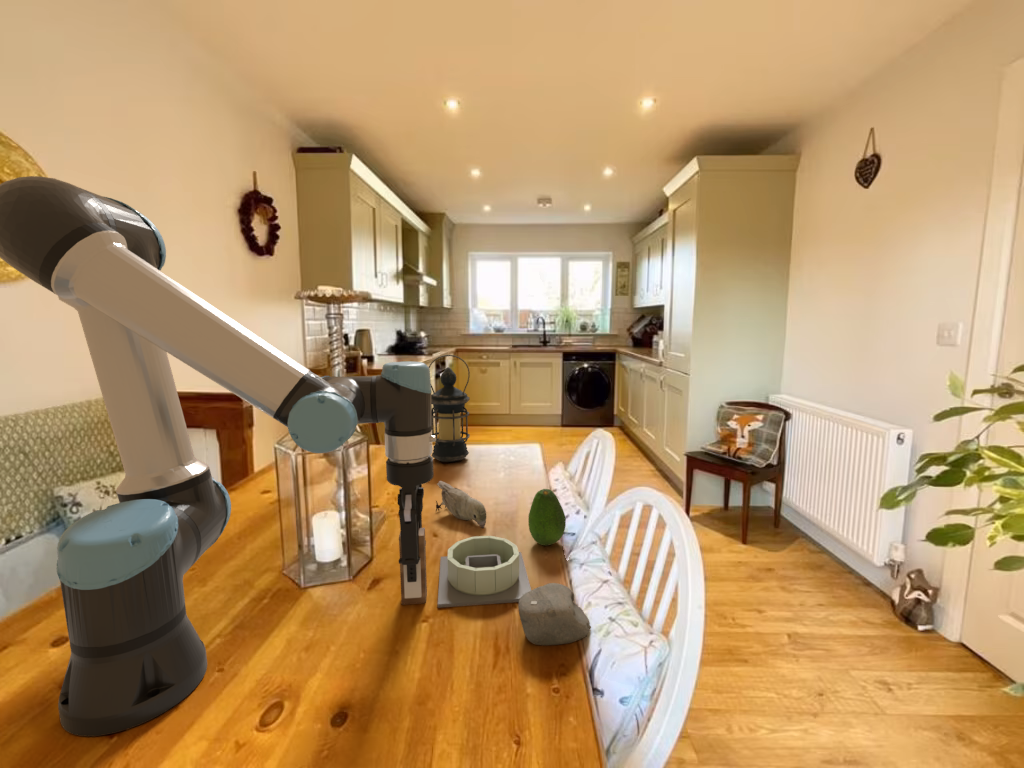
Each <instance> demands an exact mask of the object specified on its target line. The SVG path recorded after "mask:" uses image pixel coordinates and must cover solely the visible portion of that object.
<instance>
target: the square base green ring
mask: <svg viewBox="0 0 1024 768" xmlns="http://www.w3.org/2000/svg"><path fill="white" fill-rule="evenodd" d="M438 579H439V581H438V590H437V591H438V592H437V593H438V594H437V608H450V607H452V608H453V607H454V608H455V607H465V606H466V607H467V606H478V605H481V606H483V605H493V604H497V605H498V604H508V603H509V604H510V603H519V600H520V598H521V596H522V595H523V594H525V593H527V592H529V591H531V590H532V587H531V584H530V580H529V576H528V572H527V568H526V565H525V561H524V558H523V553H522V552H521V551H519V548H518V545H517V544H515V543H514V542H512V541H511V540H509V539H508V538H503V537H500V536H499V537H498V536H494V535H480V536H479V535H476V536H471V537H467V538H464V539H461V540H458V541H456V542H455V543H453V544H452V545H451V546H450V547H449V548H447V556H440V563H439V578H438Z"/></svg>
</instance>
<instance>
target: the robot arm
mask: <svg viewBox="0 0 1024 768" xmlns="http://www.w3.org/2000/svg"><path fill="white" fill-rule="evenodd" d="M0 258H1V260H3V261H4V262H5V263H6V264H7V265H9V266H11V267H12V268H13V269H14V270H16V271H18V272H19V273H21V274H22V275H23V276H25V277H27V278H28V279H30V280H31V281H33V282H34V283H36V284H37V285H40V286H42V287H43V288H45V289H47V290H48V291H49V292H51V293H53V294H54V295H56V296H57V298H58V300H59V301H60V302H62V303H65V304H66V305H68V306H70V307H72V308H73V309H74V310H76V312H77V313H78V317H79V320H80V323H81V328H82V331H83V333H84V338H85V340H86V344H87V347H88V351H89V353H90V354H89V355H90V357H91V361H92V364H93V368H94V372H95V376H96V378H97V383H98V386H99V389H100V392H101V396H102V399H103V402H104V403H103V404H104V405H105V409H106V413H107V415H108V419H109V423H110V427H111V430H112V433H113V436H114V440H115V443H116V446H117V450H118V455H119V457H120V460H121V464H122V467H123V470H124V478H123V479H122V481H121V482H120V483H119V485H117V487H116V489H115V492H116V495H117V500H118V502H119V503H115V504H111V505H108V506H106V508H104V509H100V510H94V511H92V512H90V513H88V514H86V515H84V516H82V517H80V518H79V519H77V520H76V521H74V522H73V523H72V524H71V525H70V526H68V527H67V528H66V529H65V530H64V531H63V533H62V534H61V536H60V538H59V540H58V543H57V547H56V549H57V551H56V552H57V560H56V573H57V576H58V578H59V582H60V583H59V584H60V589H61V596H62V601H63V602H62V603H63V609H64V614H65V621H66V627H67V635H68V640H69V641H68V642H69V646H70V647H69V648H70V657H69V660H68V665H67V668H66V672H65V674H64V678H63V682H62V686H61V690H60V694H59V697H58V701H57V702H58V703H57V705H58V706H57V708H58V714H59V720H60V724H61V727H62V728H63V730H65V731H66V732H68V733H69V734H72V735H75V736H80V737H97V736H98V737H99V736H106V735H110V734H111V735H112V734H115V733H118V732H119V733H120V732H122V731H125V730H129V729H131V728H134V727H137V726H140V725H142V724H145V723H146V722H149V721H151V720H152V719H154V718H157V717H159V716H160V715H162V714H165V712H167V711H168V710H170V709H172V708H174V707H175V706H176V705H178V704H179V703H180V702H182V701H183V700H184V699H185V698H187V697H188V696H189V695H190V694H191V693H192V692H193V691H194V690H195V689H196V688H197V686H199V684H200V683H201V681H202V680H203V678H204V676H205V675H206V672H207V668H208V659H207V658H208V657H207V649H206V645H205V644H204V642H203V641H202V639H201V638H200V636H199V634H198V632H197V630H196V629H195V627H194V625H193V624H192V621H190V619H189V617H188V615H187V609H186V599H185V589H184V581H183V580H184V575H185V574H186V573H187V572H188V571H189V569H191V568H192V567H193V566H194V564H195V563H196V562H197V561H198V560H199V559H200V558H201V556H203V554H204V553H205V552H206V551H207V550H208V549H210V548H211V547H212V546H214V544H215V543H216V542H217V541H218V539H219V538H220V537H221V535H222V534H223V532H224V531H225V528H226V526H227V525H228V523H229V520H230V517H231V513H232V502H231V497H230V494H229V493H228V490H227V489H226V488H225V486H224V485H223V484H222V482H220V481H217V480H216V479H215V478H214V477H213V476H212V472H211V469H210V466H209V464H208V463H207V462H204V461H202V460H201V459H198V458H196V457H195V454H194V449H193V446H192V443H191V439H190V435H189V434H190V433H189V432H188V428H187V423H186V420H185V416H184V411H183V409H182V406H181V402H180V398H179V394H178V391H177V386H176V382H175V378H174V375H173V372H172V369H171V368H172V367H171V364H170V360H169V356H168V354H169V355H171V356H172V357H174V358H176V359H177V360H179V361H180V362H182V363H183V364H186V366H189V367H190V368H192V369H193V370H195V371H197V373H200V374H201V375H203V376H205V377H206V378H208V379H209V380H211V381H213V382H214V383H215V384H218V385H219V386H221V387H222V388H223V389H226V390H227V391H229V392H231V393H232V394H234V395H236V396H237V397H239V398H240V399H242V400H243V401H245V402H247V403H248V404H250V405H252V406H253V407H255V408H256V409H257V410H259V411H261V412H263V413H264V414H266V415H268V416H269V417H271V418H272V419H274V420H276V421H277V422H279V423H280V424H282V425H284V427H286V428H287V430H288V433H289V435H290V437H291V439H292V441H293V442H294V443H295V444H296V445H297V446H298V448H300V449H302V450H304V451H307V452H309V453H313V454H327V453H330V452H333V451H335V450H337V449H340V447H341V446H343V445H344V444H345V443H346V442H347V441H348V440H349V439H351V438H352V436H353V435H354V434H355V431H356V428H357V426H358V424H359V425H361V424H378V423H384V453H385V454H384V455H385V457H386V458H387V460H386V461H385V466H386V467H385V468H386V469H385V471H386V481H387V482H388V484H391V485H393V486H397V487H400V488H399V489H398V490H399V492H398V493H397V506H398V509H399V510H398V516H399V517H398V518H399V529H400V530H399V532H400V531H401V551H402V558H400V557H399V558H398V564H399V565H400V563H402V565H403V566H404V594H405V598H420V597H421V595H422V593H421V561H420V557H419V528H423V520H422V519H423V518H422V515H423V514H422V513H423V509H424V503H423V502H424V501H423V499H424V493H425V491H424V487H423V485H424V484H427V483H430V481H432V479H434V478H433V477H434V458H433V457H432V456H431V455H432V453H433V443H434V442H435V441H436V435H435V436H431V435H432V408H433V404H432V396H431V395H432V388H431V385H432V382H431V369H430V368H429V366H428V365H427V363H425V362H421V361H411V360H409V361H391V362H386V363H384V364H383V365H382V371H381V373H380V374H377V375H371V376H370V375H368V376H365V375H364V376H363V375H361V376H360V375H359V376H357V375H355V376H352V375H351V376H330V375H324V376H320V375H317V374H316V373H314V372H312V371H311V369H309V368H308V367H307V366H305V365H303V364H302V363H300V362H299V361H297V360H296V359H294V358H292V357H291V356H289V355H288V354H286V353H285V352H283V351H282V350H281V349H279V348H277V347H276V346H274V345H272V344H271V343H270V342H268V341H267V340H265V339H264V338H262V337H261V336H260V335H258V334H256V333H255V332H253V331H252V330H250V329H248V328H247V327H246V326H244V325H242V324H241V323H240V322H238V321H236V320H235V319H234V318H232V317H231V316H229V315H228V314H226V313H224V312H223V311H222V310H220V309H218V308H217V307H216V306H214V305H213V304H211V303H209V302H208V301H206V300H205V299H204V298H202V297H201V296H199V295H198V294H196V293H194V292H192V291H191V290H190V289H188V288H187V287H185V286H184V285H182V284H181V283H179V282H178V281H176V280H175V279H173V278H171V277H170V276H169V275H167V274H165V273H164V272H162V268H163V267H164V266H165V264H166V258H167V250H166V245H165V241H164V238H163V235H162V234H161V232H160V231H159V229H158V228H157V226H156V225H155V224H154V223H153V222H152V220H150V218H148V217H147V216H145V215H144V214H143V213H141V211H138V210H137V209H135V208H133V207H132V206H130V205H129V204H127V203H124V202H123V201H120V200H117V199H114V198H111V197H108V196H102V195H100V194H97V193H94V192H92V191H89V190H87V189H84V188H81V187H79V186H77V185H74V184H72V183H69V182H66V181H64V180H60V179H57V178H53V177H49V176H48V177H47V176H40V175H38V176H36V175H33V176H29V175H27V176H19V177H16V178H12V179H8V180H5V181H3V182H1V183H0ZM426 544H427V541H426V539H425V547H426V546H427V545H426Z"/></svg>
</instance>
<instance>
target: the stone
mask: <svg viewBox="0 0 1024 768" xmlns="http://www.w3.org/2000/svg"><path fill="white" fill-rule="evenodd" d="M574 601H575V594H574V592H573V590H572V589H571V588H570V587H568V586H566V585H565V584H561V583H556V582H552V583H551V582H550V583H546V584H544V585H540V586H538V587H536V588H533V589H531V591H529V592H527V593H525V594H523V595H522V596H521V598H520V600H519V602H518V603H517V604H518V614H519V620H520V622H521V626H522V630H523V632H524V635H525V638H526V639H527V640H528V641H529V642H530V643H532V644H533V645H537V646H557V645H558V646H559V645H560V646H561V645H566V644H567V645H568V644H571V643H574V642H577V641H581V640H583V638H586V637H587V636H588V633H589V631H590V630H591V629H592V626H591V624H590V619H589V617H588V616H587V614H586V613H585V612H584V610H583V609H582V608H581V607H579V606H578V604H576V603H575V602H574Z"/></svg>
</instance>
